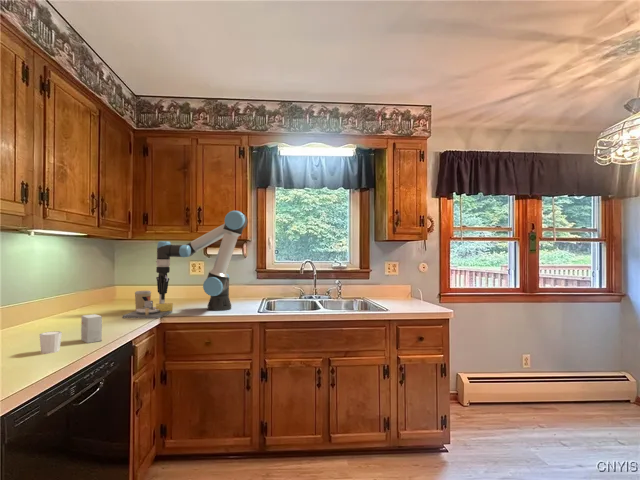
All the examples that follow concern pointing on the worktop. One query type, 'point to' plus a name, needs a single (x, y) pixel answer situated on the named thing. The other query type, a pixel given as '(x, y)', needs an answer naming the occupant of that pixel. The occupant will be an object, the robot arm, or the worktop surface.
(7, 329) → the worktop surface
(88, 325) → the small box
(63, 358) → the worktop surface
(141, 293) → the coffee cup
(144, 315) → the base plate
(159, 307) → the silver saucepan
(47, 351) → the shot glass
